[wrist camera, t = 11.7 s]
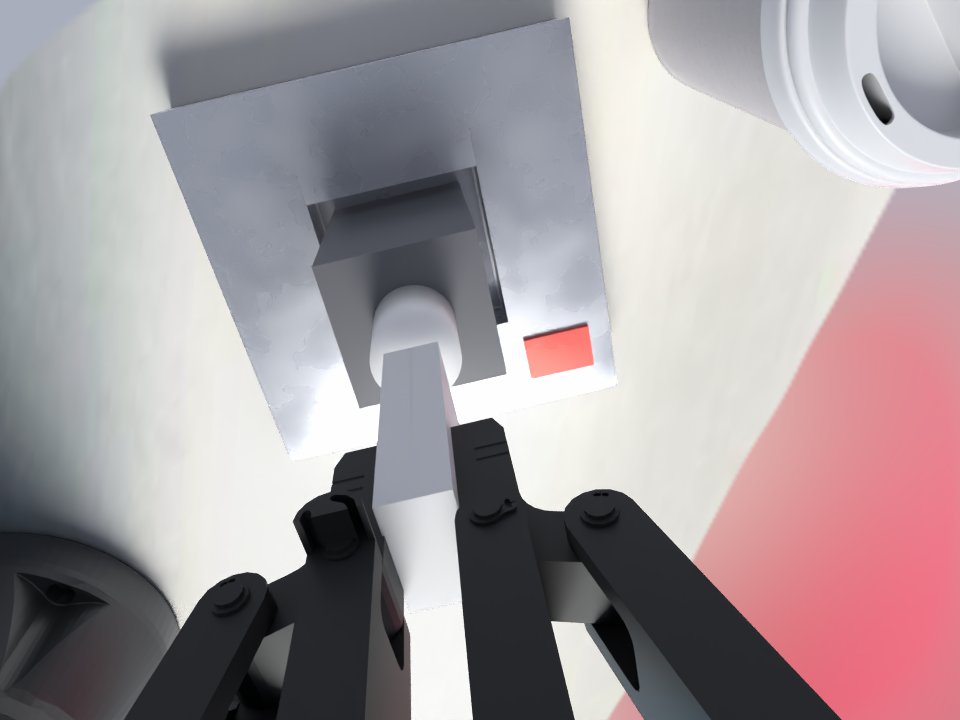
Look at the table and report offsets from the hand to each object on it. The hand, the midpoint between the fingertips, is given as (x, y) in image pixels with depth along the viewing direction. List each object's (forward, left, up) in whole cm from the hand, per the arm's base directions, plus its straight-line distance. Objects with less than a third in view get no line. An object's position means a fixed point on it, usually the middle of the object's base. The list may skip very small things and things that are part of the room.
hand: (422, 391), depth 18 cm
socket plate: (0, 0, -14) cm, 14 cm away
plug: (0, 0, -13) cm, 13 cm away
